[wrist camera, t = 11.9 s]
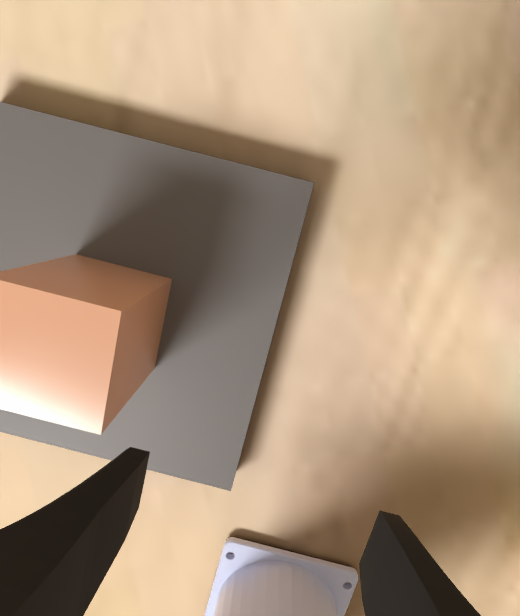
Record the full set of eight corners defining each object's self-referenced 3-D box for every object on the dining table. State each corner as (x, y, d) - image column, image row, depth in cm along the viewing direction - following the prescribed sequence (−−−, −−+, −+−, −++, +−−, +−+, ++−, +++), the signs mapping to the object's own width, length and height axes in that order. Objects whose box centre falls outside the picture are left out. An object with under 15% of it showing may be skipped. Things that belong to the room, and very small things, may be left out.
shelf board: (234, 472, 23) (230, 490, 21) (-25, 406, 23) (-46, 419, 21) (312, 184, 19) (314, 182, 17) (-2, 103, 19) (-26, 95, 17)
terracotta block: (154, 368, 20) (100, 434, 14) (63, 345, 20) (-28, 401, 14) (172, 278, 19) (121, 311, 13) (75, 253, 19) (-19, 275, 13)
